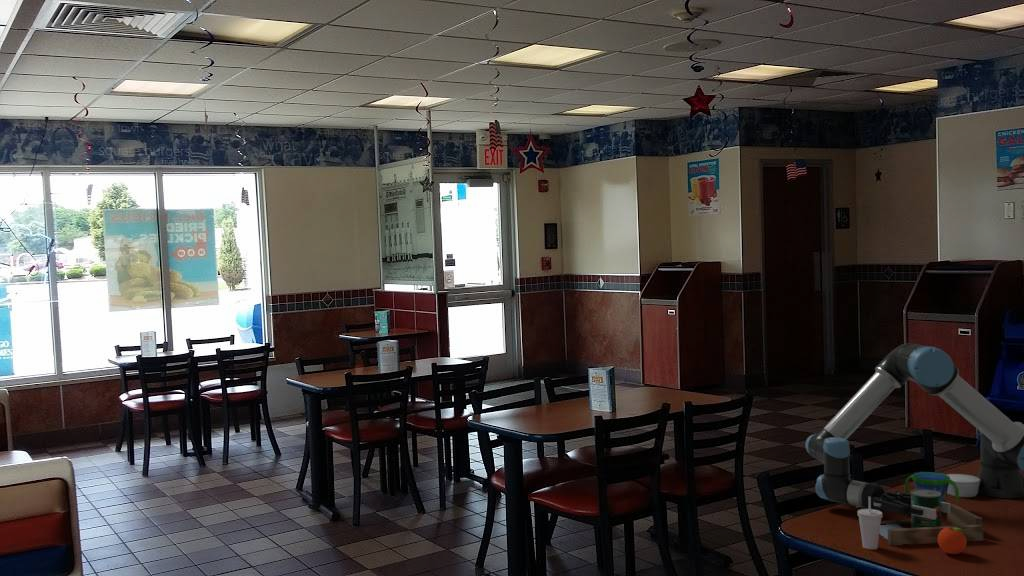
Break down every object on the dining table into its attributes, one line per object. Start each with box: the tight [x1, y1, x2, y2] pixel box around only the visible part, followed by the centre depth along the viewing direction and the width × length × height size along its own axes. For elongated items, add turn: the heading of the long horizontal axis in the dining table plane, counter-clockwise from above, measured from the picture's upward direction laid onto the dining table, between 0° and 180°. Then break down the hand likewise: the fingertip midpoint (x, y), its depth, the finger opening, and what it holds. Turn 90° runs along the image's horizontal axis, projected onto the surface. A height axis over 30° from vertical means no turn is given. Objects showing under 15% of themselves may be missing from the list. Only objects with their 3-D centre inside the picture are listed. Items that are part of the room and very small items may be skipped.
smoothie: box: [857, 497, 884, 550], centre depth 243 cm, size 6×6×14 cm
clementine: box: [937, 527, 968, 555], centre depth 236 cm, size 8×7×7 cm
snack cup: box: [903, 471, 960, 503], centre depth 277 cm, size 16×10×10 cm
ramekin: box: [946, 473, 980, 498], centre depth 292 cm, size 11×11×5 cm
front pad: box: [879, 524, 904, 541], centre depth 254 cm, size 9×14×1 cm, turn 5°
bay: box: [858, 503, 984, 546], centre depth 254 cm, size 28×18×5 cm, turn 95°
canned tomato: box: [910, 488, 942, 528], centre depth 256 cm, size 8×8×11 cm
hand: (942, 511), depth 252 cm, fingers closed on canned tomato, 8 cm apart
